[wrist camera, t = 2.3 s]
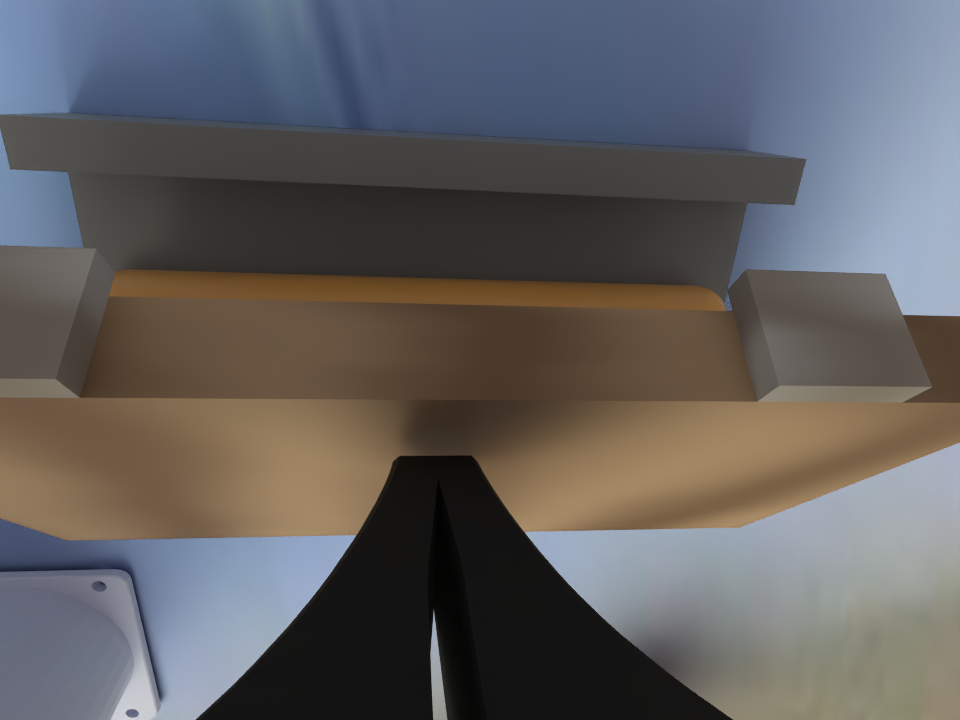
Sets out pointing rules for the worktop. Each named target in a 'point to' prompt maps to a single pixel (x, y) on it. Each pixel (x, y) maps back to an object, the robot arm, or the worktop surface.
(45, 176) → the worktop surface
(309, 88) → the worktop surface
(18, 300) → the tan flat wooden board
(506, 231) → the cable duct
